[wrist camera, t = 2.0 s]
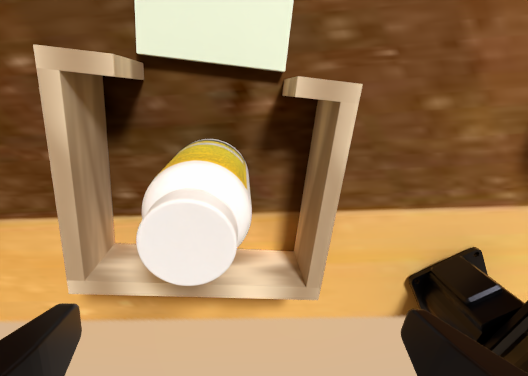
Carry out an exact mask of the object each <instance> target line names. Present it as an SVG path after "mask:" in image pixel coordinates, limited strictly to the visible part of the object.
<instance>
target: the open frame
mask: <svg viewBox="0 0 528 376" xmlns="http://www.w3.org/2000/svg"><path fill="white" fill-rule="evenodd" d="M33 47H34V54H35V61H36V68H37V75H38V82H39V89H40V96H41V103H42V110H43V117H44V124H45V131H46V138H47V145H48V152H49V159H50V166H51V173H52V180H53V187H54V194H55V201H56V207H57V214H58V221H59V228H60V235H61V242H62V249H63V256H64V263H65V270H66V277H67V284H68V291H69V294H95V295H135V296H176V297H216V298H256V299H297V300H318V299H319V294H320V289H321V284H322V279H323V275H324V270H325V265H326V260H327V255H328V250H329V245H330V240H331V236H332V231H333V226H334V221H335V216H336V211H337V206H338V201H339V197H340V192H341V187H342V182H343V177H344V172H345V167H346V163H347V158H348V153H349V148H350V143H351V138H352V133H353V128H354V124H355V119H356V114H357V109H358V104H359V99H360V94H361V89H362V85H363V84H357V83H348V82H340V81H332V80H324V79H315V78H307V77H299V76H297V77H293V78H289V79H285V80H284V86H283V94H282V96H291V97H300V98H309V99H318V103H317V109H316V115H315V122H314V128H313V134H312V140H311V147H310V153H309V159H308V165H307V172H306V178H305V184H304V191H303V197H302V203H301V209H300V216H299V222H298V228H297V234H296V241H295V247H294V251H275V250H253V249H237V251H236V255H235V258H234V260H233V262H232V264H231V265H230V267H229V268H228V269H227V270H226V271H225V272H224V273H223V274H222V275H221V276H219V277H218V278H216V279H215V280H213V281H210V282H208V283H205V284H201V285H195V286H181V285H176V284H172V283H169V282H166V281H164V280H162V279H160V278H158V277H157V276H155V275H154V274H153V273H152V272H150V271H149V270H148V269H147V267H146V266H145V265H144V264H143V262H142V260H141V258H140V256H139V254H138V250H137V244H121V243H115V237H114V223H113V210H112V196H111V183H110V169H109V156H108V142H107V129H106V115H105V102H104V88H103V76H112V77H121V78H130V79H139V80H144V65H143V63H141V62H138V61H135V60H131V59H128V58H125V57H121V56H118V55H115V54H109V53H100V52H92V51H84V50H75V49H67V48H59V47H51V46H42V45H34V44H33Z"/></svg>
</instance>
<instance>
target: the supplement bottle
mask: <svg viewBox="0 0 528 376" xmlns="http://www.w3.org/2000/svg"><path fill="white" fill-rule="evenodd" d="M251 217H252V205H251V197H250V185H249V175H248V168H247V165H246V162H245V160H244V158H243V157H242V155H241V154H240V153H239V152H238V151H237V150H236V149H235V148H234V147H233V146H231V145H230V144H228V143H226V142H223V141H220V140H216V139H202V140H198V141H195V142H193V143H191V144H189V145H187V146H186V147H184V148H183V149H182V150H181V151H180V152H179V153H178V154H177V155H176V156H175V157H174V158H173V159H172V160H171V161H170V162H169V163H168V164H167V166H166V167H165V168H164V169H163V170H162V171H161V172H160V173H159V174H158V175H157V176H156V177H155V178H154V180H153V181H152V183H151V184H150V185H149V187H148V189H147V191H146V193H145V196H144V199H143V203H142V221H141V223H140V225H139V227H138V231H137V237H136V244H137V250H138V254H139V256H140V258H141V260H142V262H143V264H144V265H145V266H146V267H147V269H148V270H149V271H150V272H152V273H153V274H154V275H155V276H157V277H158V278H160V279H162V280H164V281H166V282H169V283H172V284H176V285H181V286H195V285H201V284H205V283H208V282H210V281H213V280H215V279H216V278H218V277H219V276H221V275H222V274H223V273H224V272H225V271H226V270H227V269H228V268H229V267H230V265H231V264H232V262H233V260H234V258H235V255H236V251H237V247H238V246H239V245H240V244H241V243H242V241H243V240H244V238H245V237H246V235H247V233H248V230H249V228H250V224H251Z"/></svg>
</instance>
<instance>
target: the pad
mask: <svg viewBox="0 0 528 376" xmlns="http://www.w3.org/2000/svg"><path fill="white" fill-rule="evenodd" d="M293 1H294V0H135V25H136V52H137V54H140V55H146V56H154V57H163V58H171V59H179V60H187V61H195V62H204V63H212V64H220V65H228V66H236V67H245V68H253V69H261V70H269V71H277V72H285V68H286V59H287V51H288V43H289V34H290V26H291V18H292V9H293Z"/></svg>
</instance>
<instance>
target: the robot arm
mask: <svg viewBox="0 0 528 376" xmlns="http://www.w3.org/2000/svg"><path fill="white" fill-rule="evenodd" d="M415 280H416V281H415ZM409 283H410V285H411V288H412V290H413V293H414V296H415V298H416V301H417V303H418V306H419V308H420V309H411V310H409V311H408V313H407V315H406V318H405V321H404V324H403V326H402V329H401V337H402V340H403V343H404V345H405V347H406V350H407V352H408V354H409V357H410V359H411V362H412V364H413V367H414V369H415V371H416V373H417V376H528V301H527V302H526V303H524V302H522V301H521V300H520V299H518V298H517V297H516V296H514V295H513V294H512V293H510V292H509V291H508V290H506V289H505V288H504V287H502V286H501V285H500V284H499V283H497V282H496V281H494V280H493V279H492V278H490V277H489V276H488V274H487V270H486V267H485V263H484V259H483V255H482V252H481V250H479V249H478V248H476V247H472V248H470V249H468V250H466V251H463V252H461V253H459V254H457V255H455V256H453V257H450V258H448V259H446V260H444V261H442V262H440V263H438V264H435V265H433V266H431V267H429V268H427V269H425V270H422V271H420V272H418V273H416V274H414V275H412V276H411V277H410V278H409ZM81 331H82V328H81V319H80V311H79V307H78V305H77V304H58V305H56V306H54V307H52V308H51V309H49V310H48V311H46V312H44V313H43V314H41V315H40V316H38V317H36V318H35V319H33V320H32V321H30V322H28V323H27V324H25V325H24V326H22V327H20V328H19V329H17V330H16V331H14V332H12V333H11V334H9V335H8V336H6V337H4V338H3V339H1V340H0V376H64V375H65V373H66V370H67V368H68V366H69V364H70V361H71V359H72V356H73V354H74V352H75V349H76V347H77V344H78V342H79V340H80V337H81Z"/></svg>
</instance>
